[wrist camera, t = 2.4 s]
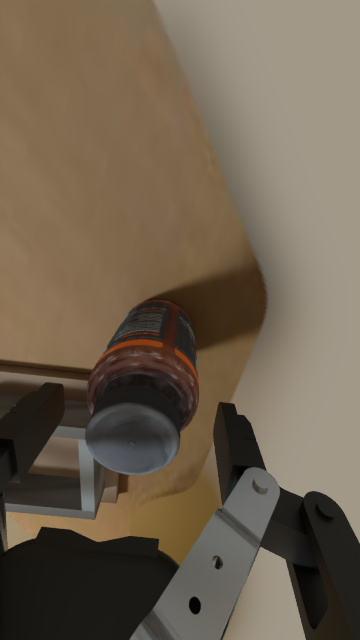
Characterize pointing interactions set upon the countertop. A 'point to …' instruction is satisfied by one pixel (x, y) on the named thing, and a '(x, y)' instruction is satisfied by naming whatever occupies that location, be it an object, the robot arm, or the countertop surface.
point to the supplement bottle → (143, 390)
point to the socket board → (58, 452)
